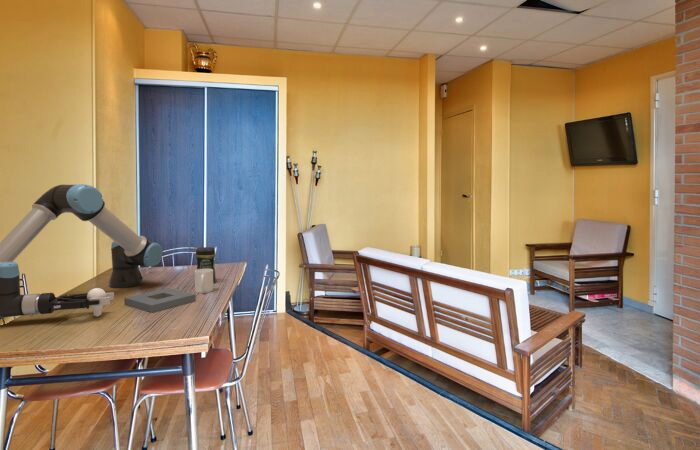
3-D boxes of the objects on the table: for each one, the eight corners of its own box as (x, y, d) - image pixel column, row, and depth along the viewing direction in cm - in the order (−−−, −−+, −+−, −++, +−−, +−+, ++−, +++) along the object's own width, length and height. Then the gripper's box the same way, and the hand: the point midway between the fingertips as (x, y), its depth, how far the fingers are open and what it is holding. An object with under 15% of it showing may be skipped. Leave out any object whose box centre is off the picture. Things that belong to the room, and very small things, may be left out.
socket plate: (124, 304, 170) (124, 297, 170) (168, 294, 187) (167, 288, 187) (152, 312, 160) (151, 305, 159) (195, 301, 176) (195, 294, 176)
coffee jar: (195, 284, 206) (194, 248, 204) (197, 281, 214) (196, 246, 212) (215, 284, 208) (214, 248, 206) (216, 280, 216) (215, 246, 214)
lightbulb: (93, 314, 158) (92, 286, 157) (110, 313, 158) (108, 286, 157) (84, 319, 152) (83, 290, 151) (101, 318, 152) (100, 290, 151)
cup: (214, 288, 199) (213, 268, 198) (212, 294, 187) (211, 273, 186) (196, 289, 197) (195, 268, 196) (192, 295, 185) (192, 273, 184)
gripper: (50, 306, 158) (117, 301, 165) (30, 322, 139) (106, 315, 147) (49, 287, 157) (116, 283, 165) (28, 300, 139) (105, 295, 146)
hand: (111, 298), depth 156 cm, fingers open, 6 cm apart
